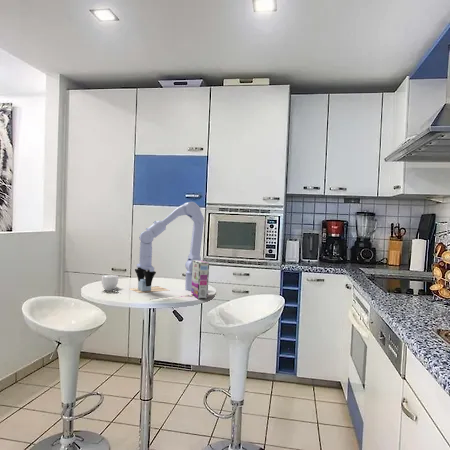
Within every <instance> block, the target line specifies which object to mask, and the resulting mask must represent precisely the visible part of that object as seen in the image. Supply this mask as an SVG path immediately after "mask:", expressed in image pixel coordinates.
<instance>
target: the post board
mask: <svg viewBox="0 0 450 450" xmlns="http://www.w3.org/2000/svg"><path fill="white" fill-rule="evenodd" d="M129 290H130V291H133V292H136V293H138V294H145V293H155V292H167V291H169V289H167V288H164V287H161V286H151V290H150V291H140V290H138V287H133V288H129Z"/></svg>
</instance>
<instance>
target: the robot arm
mask: <svg viewBox="0 0 450 450" xmlns="http://www.w3.org/2000/svg"><path fill="white" fill-rule="evenodd" d="M181 216H187V217H189V218H190V219H191V221H192V223H193V225H192V233H191V241H190V249H189V254H188V256H187V257H188V258H187V260H186V261H185V266H184V267H185V269H186V271H185V283H184V284H185V287H184V288H185V289H184V290H185V291H187V292H189V291H190V292H191V289H192V267H193V260H200V261H202V258H201V247H202V240H203V232H204V223H205V217H204V215H203V213H202V211H201V207H200V206H199V205H198V204H197V203H196V202H195V201H189V202H187V201H186V202H184V203H183V204H181V205H180V206H178V207H177V208H175V209H174V210H172V212H171V213H169V214H168V215H167V216H166V217H165V218H163V219H162V220H155V221H154V222H153V224H151V225H150V226H149V227H145V230H143V231H142V232H141V233H140V235H139V240H140V243H139V245H140V246H139V259H138V260H139V261H138V263H136V268H135V269H134V271H135V273H136V276H137V281H140V279H145V282H146V286H151V287H152V283H153V279H154V277H155V275H156V273H157V271H155V266H153V265H152V260H153V259H152V258H153V241H154V240H155V239H154V238H157V237H159V236H160V235H161V234H162V233H163V232H164V231H166V230H167V226H168V225H169V224H171V223H172V222H173V221H174V220H176V219H177V218H178V217H181Z"/></svg>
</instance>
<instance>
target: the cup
mask: <svg viewBox="0 0 450 450" xmlns="http://www.w3.org/2000/svg"><path fill="white" fill-rule="evenodd" d="M118 284H119V275H118V274H117V275H116V274H105V275H101V285H102V287H103V290H104V291H106V292H107V291H109V292H111V291H115V289H116V288H117V286H118Z"/></svg>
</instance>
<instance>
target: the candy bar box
mask: <svg viewBox="0 0 450 450" xmlns="http://www.w3.org/2000/svg"><path fill="white" fill-rule="evenodd" d="M209 271H210V262H207V261H205V260H201V261H200V260H193V267H192V289H191V291H190V292H191V295H192V296H193V297H194V298H196V299H198V300H207V299H208V298H209V296H208V294H209V293H208V292H209V274H210V272H209Z"/></svg>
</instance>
